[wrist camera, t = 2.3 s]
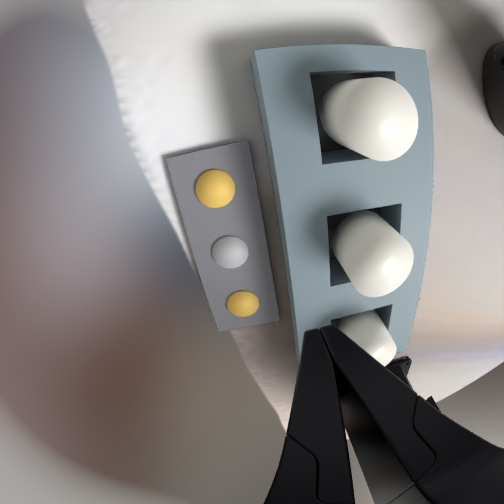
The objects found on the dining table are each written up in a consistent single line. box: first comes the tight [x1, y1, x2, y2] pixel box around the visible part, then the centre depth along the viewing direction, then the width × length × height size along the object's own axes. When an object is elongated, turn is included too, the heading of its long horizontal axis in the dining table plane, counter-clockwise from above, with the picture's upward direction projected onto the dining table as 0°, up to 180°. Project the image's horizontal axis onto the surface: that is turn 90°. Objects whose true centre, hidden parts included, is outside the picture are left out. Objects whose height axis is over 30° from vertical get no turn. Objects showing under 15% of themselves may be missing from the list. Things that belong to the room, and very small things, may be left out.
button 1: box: [320, 77, 418, 161], centre depth 13 cm, size 4×4×4 cm
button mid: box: [332, 210, 414, 297], centre depth 17 cm, size 4×4×4 cm
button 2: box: [335, 309, 397, 367], centre depth 21 cm, size 4×4×4 cm
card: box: [166, 140, 280, 332], centre depth 20 cm, size 14×5×1 cm, turn 10°
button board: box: [250, 44, 434, 365], centre depth 19 cm, size 24×10×3 cm, turn 10°
